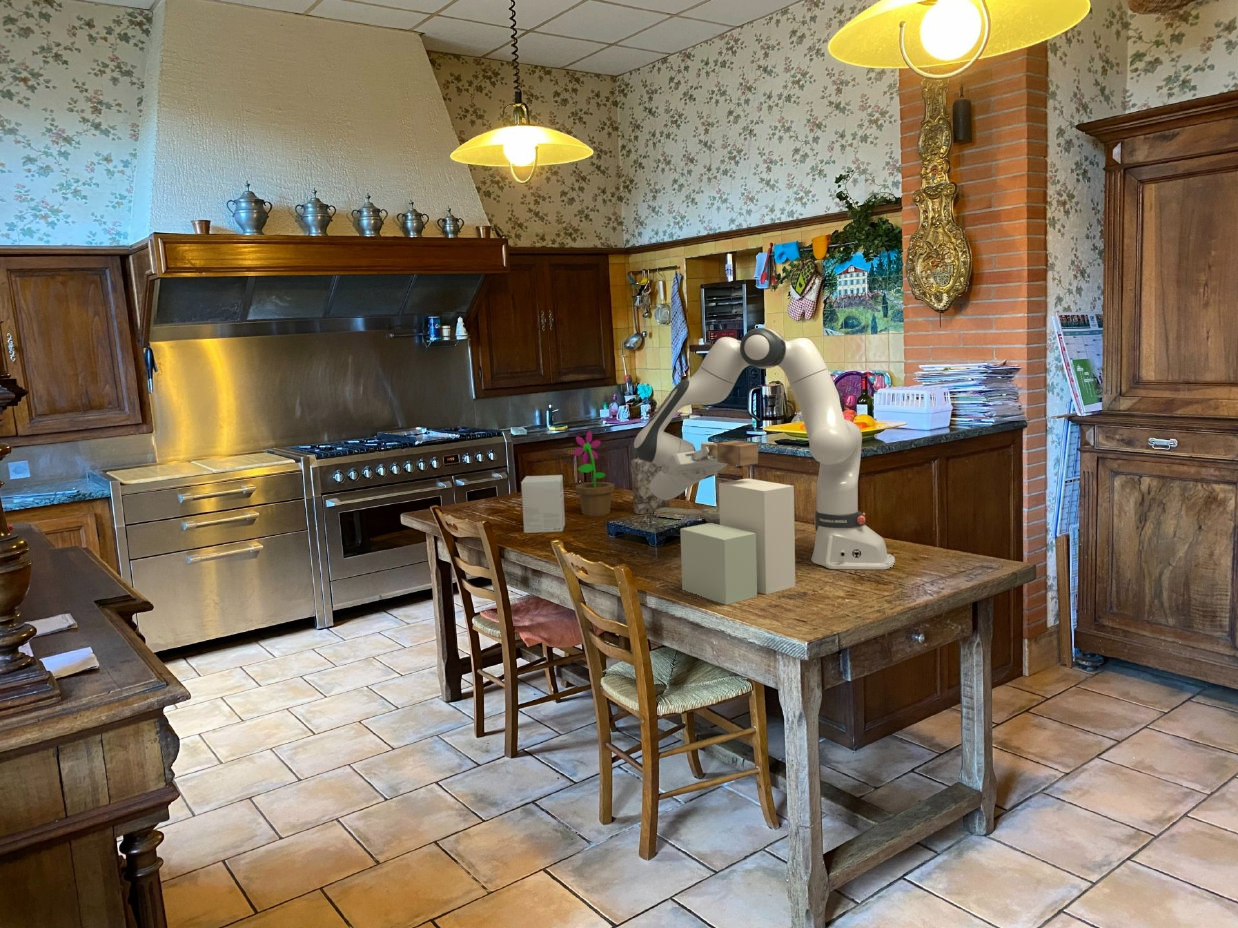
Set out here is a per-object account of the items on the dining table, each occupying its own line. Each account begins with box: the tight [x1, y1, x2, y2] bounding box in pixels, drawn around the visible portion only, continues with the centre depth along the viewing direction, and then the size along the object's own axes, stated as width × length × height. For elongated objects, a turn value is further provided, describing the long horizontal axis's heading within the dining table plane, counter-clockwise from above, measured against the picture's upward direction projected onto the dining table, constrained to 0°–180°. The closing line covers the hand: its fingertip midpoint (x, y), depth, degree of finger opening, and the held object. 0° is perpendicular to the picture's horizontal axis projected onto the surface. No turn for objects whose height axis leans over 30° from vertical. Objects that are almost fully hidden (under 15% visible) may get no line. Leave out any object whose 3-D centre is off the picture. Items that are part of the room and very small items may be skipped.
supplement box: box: [520, 474, 566, 534], centre depth 312 cm, size 13×13×18 cm
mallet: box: [700, 440, 759, 467], centre depth 240 cm, size 18×6×5 cm, turn 34°
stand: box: [680, 478, 796, 606], centre depth 231 cm, size 17×23×26 cm
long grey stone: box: [655, 505, 720, 524], centre depth 317 cm, size 35×5×10 cm
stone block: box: [630, 457, 671, 515], centre depth 332 cm, size 13×7×20 cm, turn 118°
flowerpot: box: [572, 430, 615, 517], centre depth 334 cm, size 14×14×30 cm
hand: (715, 448), depth 244 cm, fingers closed on mallet, 3 cm apart
